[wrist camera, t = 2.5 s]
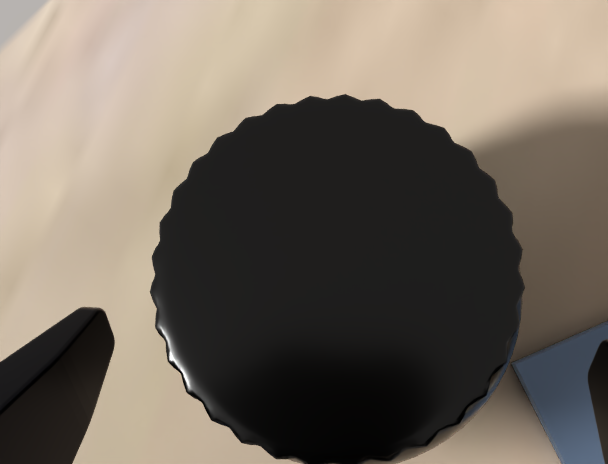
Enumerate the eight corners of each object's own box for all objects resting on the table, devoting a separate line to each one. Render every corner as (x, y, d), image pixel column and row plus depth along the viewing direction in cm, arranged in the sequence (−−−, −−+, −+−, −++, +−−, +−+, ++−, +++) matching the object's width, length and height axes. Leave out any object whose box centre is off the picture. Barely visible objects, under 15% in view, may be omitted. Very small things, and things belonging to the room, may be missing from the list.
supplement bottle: (224, 256, 19) (1, 148, 7) (393, 173, 19) (444, -75, 7) (305, 437, 18) (192, 665, 6) (488, 349, 17) (747, 402, 6)
